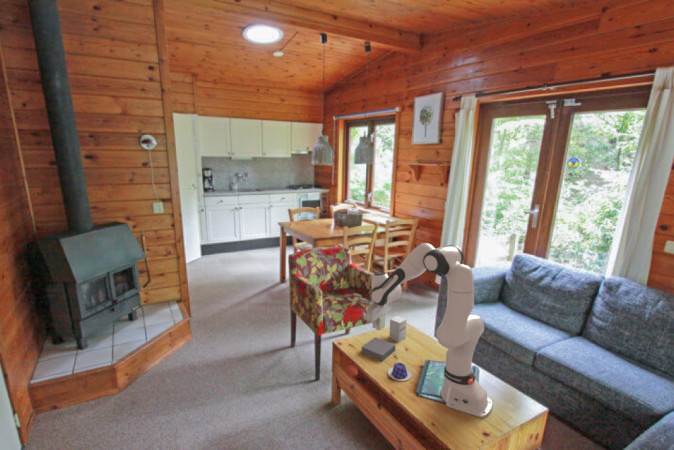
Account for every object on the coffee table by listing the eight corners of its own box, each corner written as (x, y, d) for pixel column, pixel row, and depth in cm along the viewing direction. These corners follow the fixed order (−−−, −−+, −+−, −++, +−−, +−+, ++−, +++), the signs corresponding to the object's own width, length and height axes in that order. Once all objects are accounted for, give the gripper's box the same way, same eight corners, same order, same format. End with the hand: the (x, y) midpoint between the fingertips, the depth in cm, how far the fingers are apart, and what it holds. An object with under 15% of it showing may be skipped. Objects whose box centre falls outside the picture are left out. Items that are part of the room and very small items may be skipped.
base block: (395, 351, 200) (395, 344, 199) (382, 362, 190) (382, 355, 189) (375, 343, 209) (375, 337, 208) (361, 353, 198) (361, 346, 198)
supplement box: (398, 342, 208) (399, 323, 206) (389, 337, 214) (389, 319, 211) (406, 338, 213) (406, 319, 211) (396, 333, 219) (397, 315, 216)
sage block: (384, 326, 197) (385, 315, 195) (380, 330, 193) (380, 318, 191) (377, 324, 200) (377, 313, 198) (372, 327, 196) (372, 316, 195)
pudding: (415, 379, 175) (416, 369, 174) (395, 384, 171) (395, 375, 170) (403, 365, 186) (404, 356, 185) (383, 370, 182) (383, 361, 181)
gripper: (373, 308, 183) (373, 331, 186) (393, 295, 199) (392, 318, 201) (363, 304, 187) (363, 328, 190) (384, 293, 203) (383, 315, 205)
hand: (378, 323), depth 196 cm, fingers closed on sage block, 5 cm apart
